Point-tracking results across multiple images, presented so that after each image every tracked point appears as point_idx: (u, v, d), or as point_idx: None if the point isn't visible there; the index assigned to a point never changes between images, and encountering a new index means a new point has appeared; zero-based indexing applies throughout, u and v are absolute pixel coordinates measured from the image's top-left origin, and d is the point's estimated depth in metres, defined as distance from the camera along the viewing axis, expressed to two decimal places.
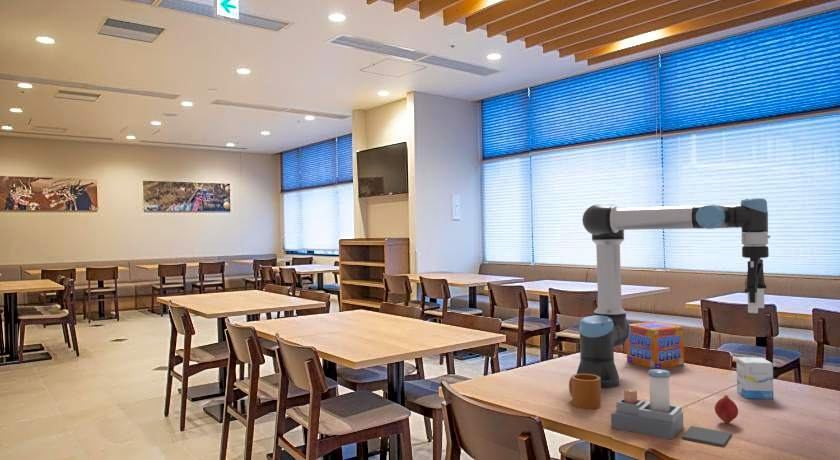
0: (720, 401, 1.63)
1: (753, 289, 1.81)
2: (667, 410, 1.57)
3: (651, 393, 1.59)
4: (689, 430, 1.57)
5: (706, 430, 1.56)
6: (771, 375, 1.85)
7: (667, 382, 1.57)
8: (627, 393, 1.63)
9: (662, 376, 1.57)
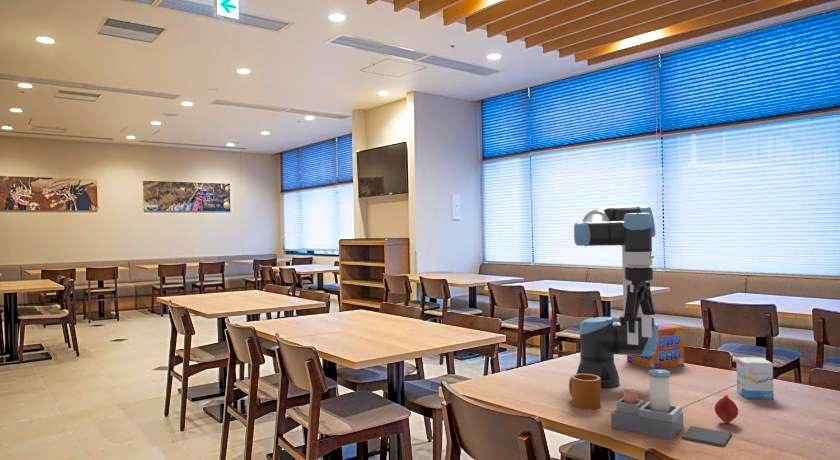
0: (720, 401, 1.63)
1: (631, 317, 1.58)
2: (667, 410, 1.57)
3: (651, 393, 1.59)
4: (689, 430, 1.57)
5: (706, 430, 1.56)
6: (771, 375, 1.85)
7: (667, 382, 1.57)
8: (627, 393, 1.63)
9: (662, 376, 1.57)
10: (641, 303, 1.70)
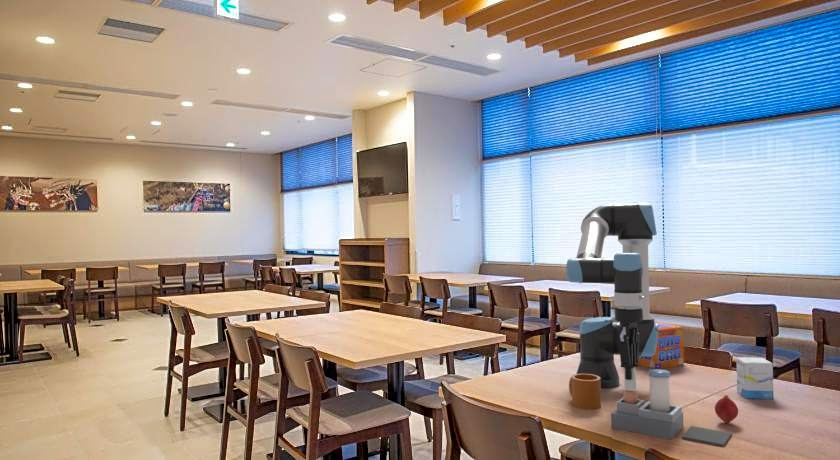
0: (720, 401, 1.63)
1: (628, 366, 1.61)
2: (667, 410, 1.57)
3: (651, 393, 1.59)
4: (689, 430, 1.57)
5: (706, 430, 1.56)
6: (771, 375, 1.85)
7: (667, 382, 1.57)
8: (627, 393, 1.63)
9: (662, 376, 1.57)
10: None
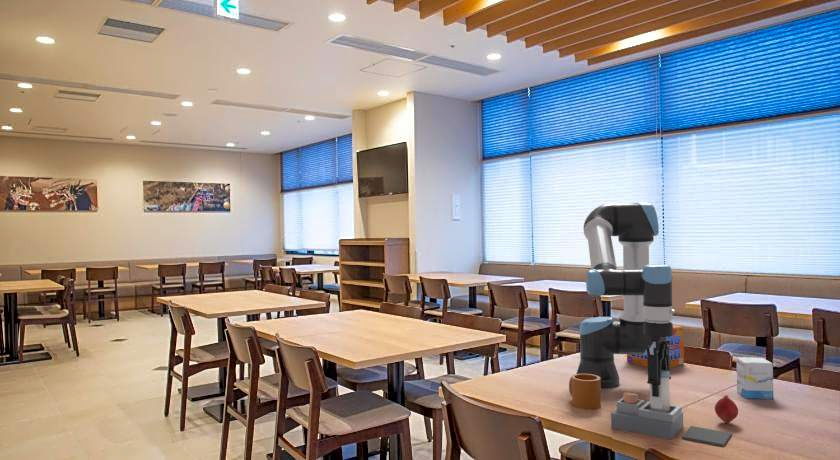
0: (720, 401, 1.63)
1: (655, 383, 1.54)
2: (667, 410, 1.57)
3: None
4: (689, 430, 1.57)
5: (706, 430, 1.56)
6: (771, 375, 1.85)
7: (667, 382, 1.57)
8: (627, 397, 1.63)
9: (662, 376, 1.57)
10: None
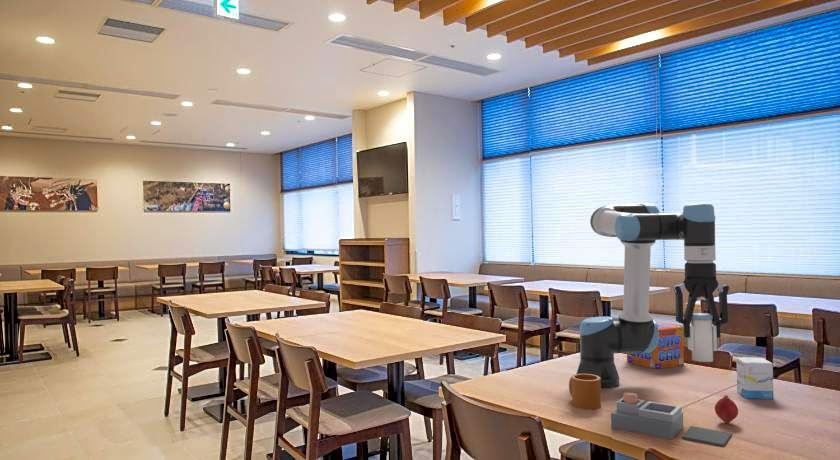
0: (720, 401, 1.63)
1: (678, 321, 1.54)
2: (701, 354, 1.51)
3: None
4: (689, 430, 1.57)
5: (706, 430, 1.56)
6: (771, 375, 1.85)
7: (701, 325, 1.51)
8: (627, 397, 1.63)
9: (694, 318, 1.52)
10: (708, 306, 1.54)
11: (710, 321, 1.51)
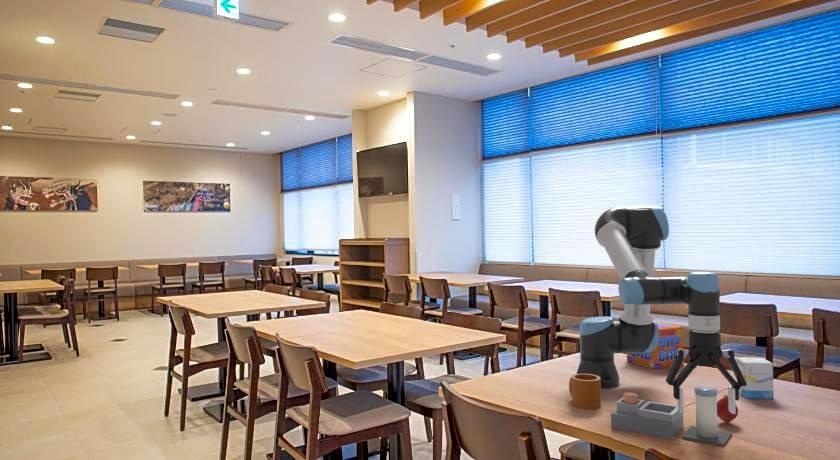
0: (720, 401, 1.63)
1: (667, 382, 1.54)
2: (705, 430, 1.51)
3: None
4: (689, 430, 1.57)
5: None
6: (771, 375, 1.85)
7: (706, 401, 1.51)
8: (627, 397, 1.63)
9: (699, 393, 1.52)
10: (721, 372, 1.53)
11: (715, 397, 1.51)
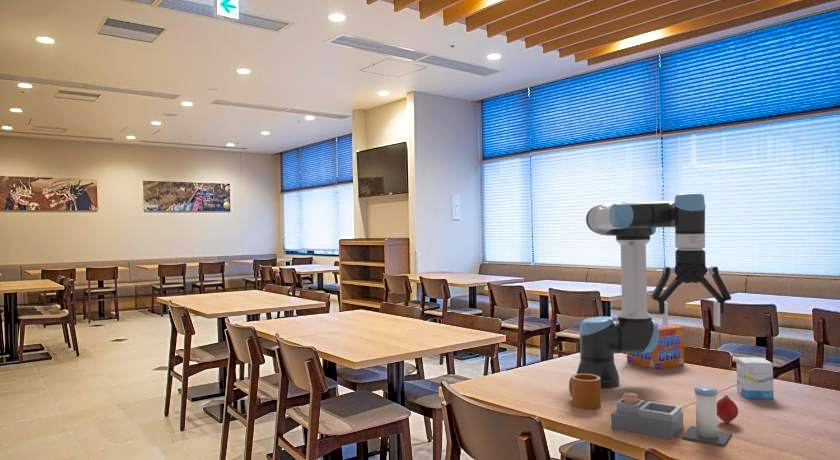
0: (720, 401, 1.63)
1: (653, 298, 1.61)
2: (705, 430, 1.51)
3: None
4: (689, 430, 1.57)
5: None
6: (771, 375, 1.85)
7: (706, 401, 1.51)
8: (627, 397, 1.63)
9: (699, 393, 1.52)
10: (706, 288, 1.60)
11: (715, 397, 1.51)
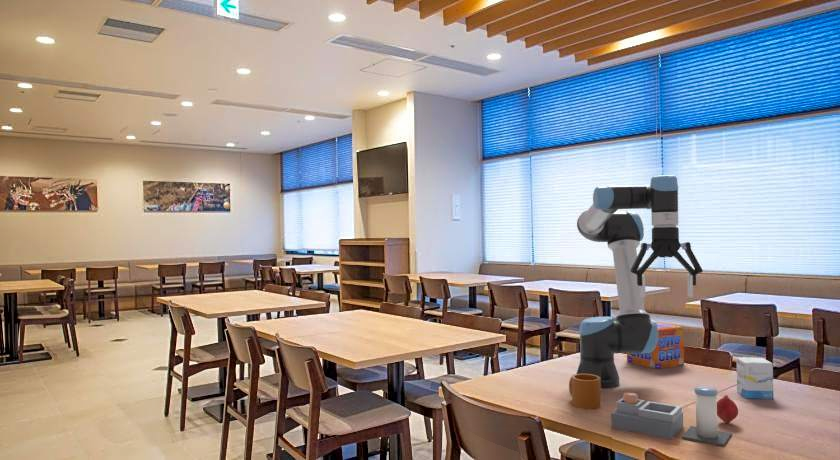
0: (720, 401, 1.63)
1: (632, 271, 1.76)
2: (705, 430, 1.51)
3: None
4: (689, 430, 1.57)
5: None
6: (771, 375, 1.85)
7: (706, 401, 1.51)
8: (627, 397, 1.63)
9: (699, 393, 1.52)
10: (680, 262, 1.75)
11: (715, 397, 1.51)
